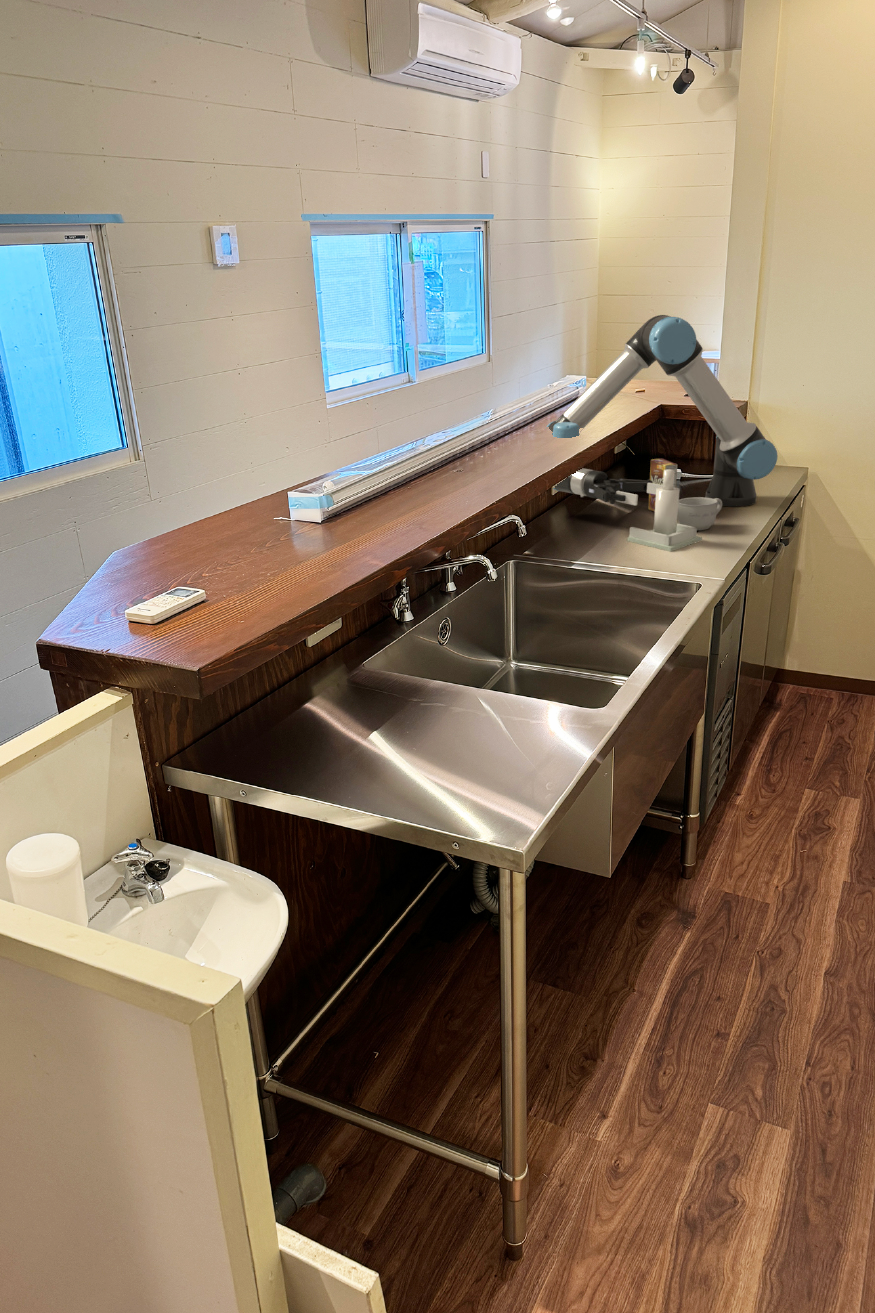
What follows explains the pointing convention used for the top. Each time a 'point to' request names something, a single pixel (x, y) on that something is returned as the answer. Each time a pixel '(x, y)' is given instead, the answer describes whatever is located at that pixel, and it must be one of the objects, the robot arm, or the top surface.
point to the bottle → (666, 505)
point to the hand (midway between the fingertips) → (652, 495)
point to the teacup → (698, 511)
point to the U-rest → (665, 537)
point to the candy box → (659, 476)
